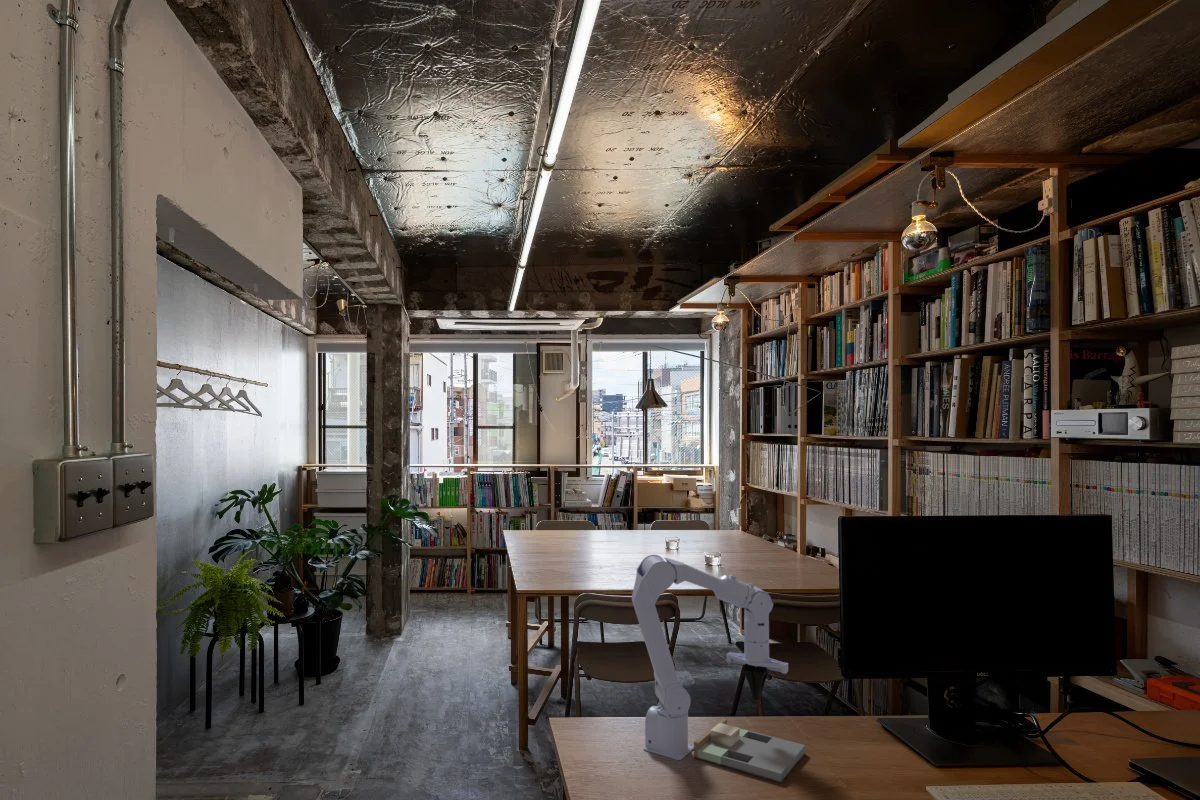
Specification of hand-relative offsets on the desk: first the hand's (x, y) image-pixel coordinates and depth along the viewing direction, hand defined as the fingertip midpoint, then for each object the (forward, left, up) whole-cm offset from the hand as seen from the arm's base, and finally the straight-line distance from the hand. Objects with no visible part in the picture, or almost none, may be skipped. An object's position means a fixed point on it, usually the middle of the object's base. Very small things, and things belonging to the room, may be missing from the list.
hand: (756, 698), depth 164 cm
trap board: (+1, -7, -10) cm, 13 cm away
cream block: (-5, -7, -8) cm, 12 cm away
